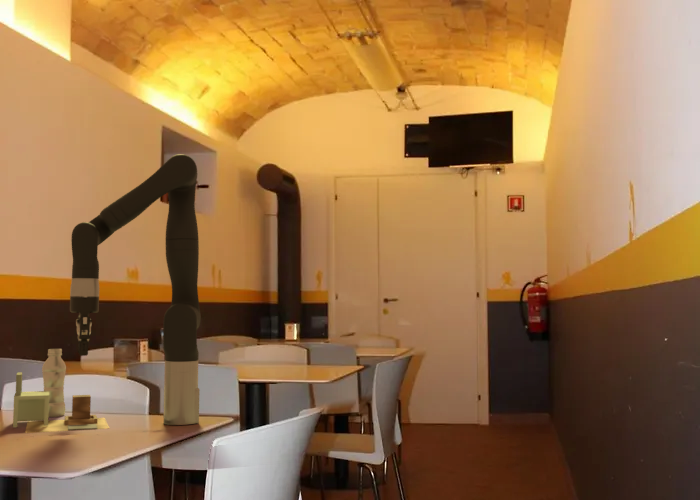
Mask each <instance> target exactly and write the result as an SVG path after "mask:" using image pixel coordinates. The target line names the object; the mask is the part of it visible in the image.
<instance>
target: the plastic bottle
mask: <svg viewBox="0 0 700 500" xmlns="http://www.w3.org/2000/svg"><path fill="white" fill-rule="evenodd" d="M62 352H63V349H62V348H49V349H47V357H48V358H47V359H46V360H45V361H44V363H43V364H42V367H41V369H42V378H43V391H49V413H48V418H55V417H56V418H58V417H63V416H65V413H66V404H65V403H66V402H65V394H64V389H65V388H64V385H65V378H66V370H67V366H66V363H65V361H64V360H63V358H62V356H63V353H62Z"/></svg>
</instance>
